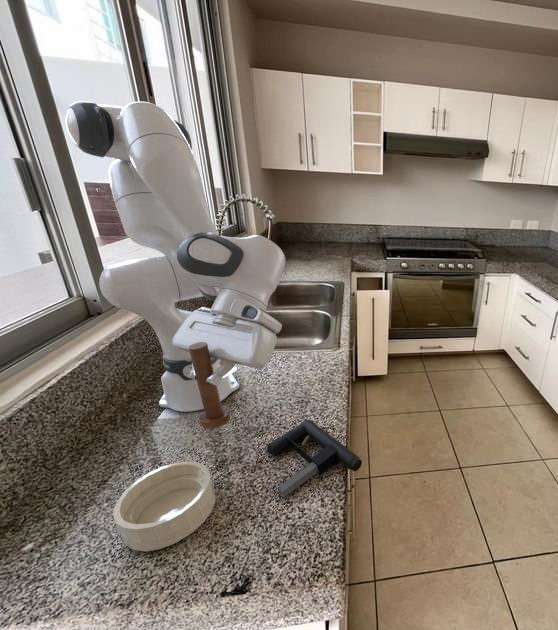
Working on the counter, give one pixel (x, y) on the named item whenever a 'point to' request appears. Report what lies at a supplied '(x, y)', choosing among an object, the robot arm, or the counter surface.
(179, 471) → the bowl
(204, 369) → the stirring stick
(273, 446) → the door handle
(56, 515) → the counter surface
